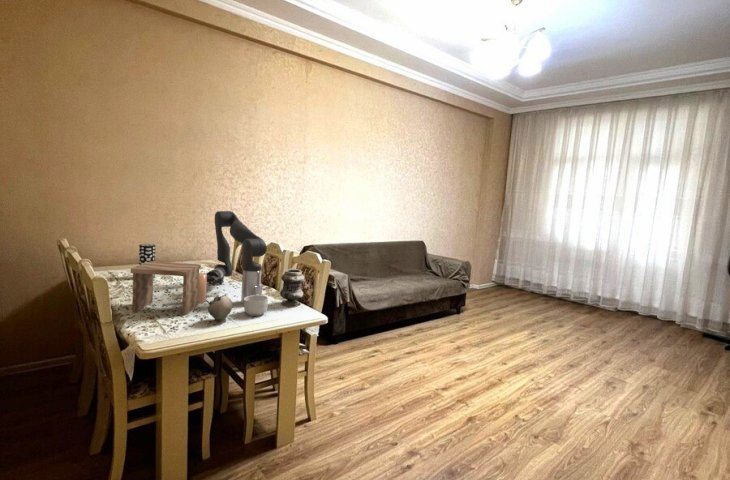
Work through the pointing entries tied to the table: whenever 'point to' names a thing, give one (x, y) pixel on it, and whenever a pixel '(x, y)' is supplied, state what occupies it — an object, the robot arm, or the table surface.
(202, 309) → the table surface
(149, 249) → the spotted tube
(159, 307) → the table surface
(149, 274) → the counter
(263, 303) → the teacup
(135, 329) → the table surface
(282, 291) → the dark mottled vase
